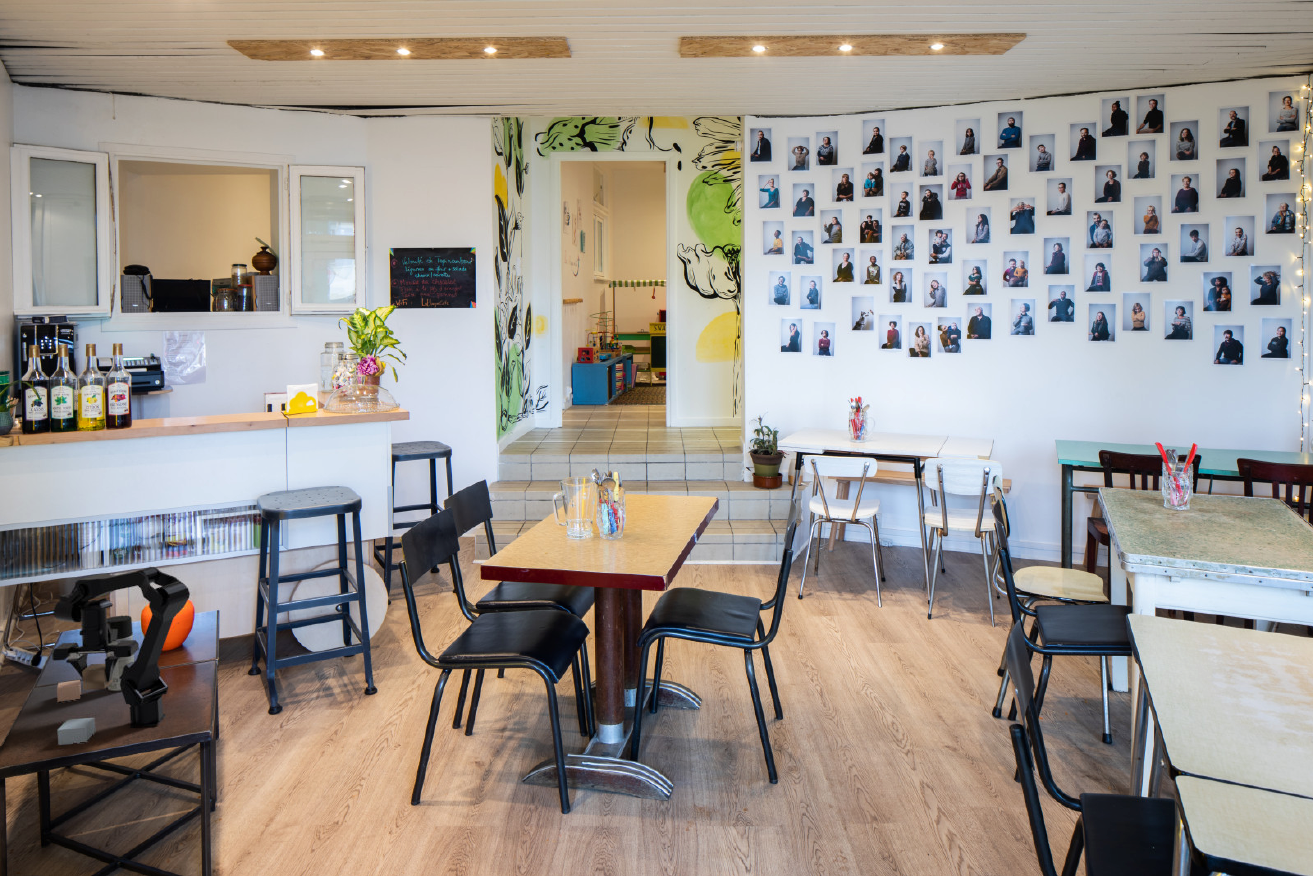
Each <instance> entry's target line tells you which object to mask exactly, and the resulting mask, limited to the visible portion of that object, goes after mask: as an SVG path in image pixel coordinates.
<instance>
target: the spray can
mask: <svg viewBox="0 0 1313 876" xmlns="http://www.w3.org/2000/svg"><path fill="white" fill-rule="evenodd" d="M107 624H109V625H110V629H118V631H117V641H113V642H112V643H110V644H109V645H117V644H118V643H120V642H121V641H126V640H134V639H133V638H134V636H133V634H134V631H133V619H132V616H130V615H127V614H126V615H116V616H111V617H107ZM134 654H135V653H134ZM134 654H133V655H132V656H130V657H121V658H120V659H119V660H118V661H117V663H116V665H115V668H114V671H113V674H112V680H113V682H112V683H110V684H109V685H108V686H107V688H108V689H107V690H108V691H110V692H115V691H116V692H122V691H121V687H120V682H121V679H120V678H119V677H120V676H121V675H122V672H123V668H124V666H125V665H126V664H129V663H131V662H134V661H135V655H134ZM107 657H109V654H108V653H105V659H106V658H107Z"/></svg>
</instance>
